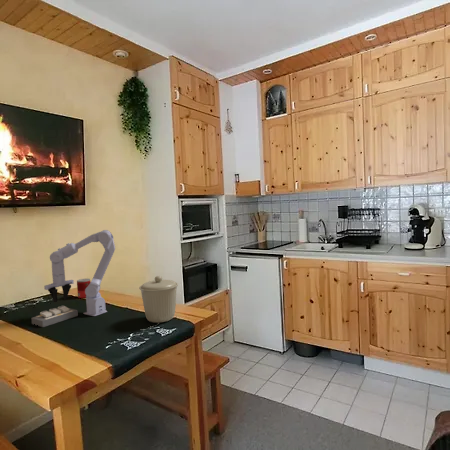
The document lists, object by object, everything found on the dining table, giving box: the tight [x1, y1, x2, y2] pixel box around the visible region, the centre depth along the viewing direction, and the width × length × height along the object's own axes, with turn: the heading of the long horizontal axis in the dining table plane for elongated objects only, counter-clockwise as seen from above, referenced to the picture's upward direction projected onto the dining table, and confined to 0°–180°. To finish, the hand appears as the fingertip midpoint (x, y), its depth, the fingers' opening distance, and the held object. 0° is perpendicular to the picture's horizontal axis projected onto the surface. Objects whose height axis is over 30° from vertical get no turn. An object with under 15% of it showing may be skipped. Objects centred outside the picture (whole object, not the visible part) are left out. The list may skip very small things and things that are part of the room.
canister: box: [139, 275, 179, 324], centre depth 160 cm, size 18×18×21 cm
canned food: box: [76, 278, 91, 300], centre depth 210 cm, size 8×8×11 cm
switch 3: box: [57, 305, 69, 312], centre depth 171 cm, size 5×3×1 cm, turn 57°
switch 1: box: [39, 310, 52, 317], centre depth 163 cm, size 5×3×1 cm, turn 57°
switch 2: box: [48, 307, 61, 315], centre depth 167 cm, size 5×3×1 cm, turn 57°
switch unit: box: [31, 307, 79, 328], centre depth 167 cm, size 10×18×3 cm, turn 147°
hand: (60, 300), depth 172 cm, fingers open, 5 cm apart
